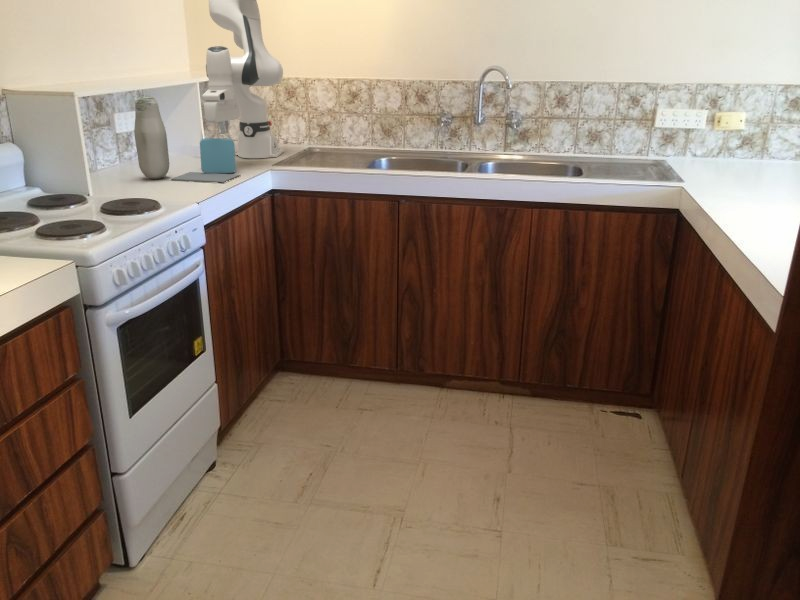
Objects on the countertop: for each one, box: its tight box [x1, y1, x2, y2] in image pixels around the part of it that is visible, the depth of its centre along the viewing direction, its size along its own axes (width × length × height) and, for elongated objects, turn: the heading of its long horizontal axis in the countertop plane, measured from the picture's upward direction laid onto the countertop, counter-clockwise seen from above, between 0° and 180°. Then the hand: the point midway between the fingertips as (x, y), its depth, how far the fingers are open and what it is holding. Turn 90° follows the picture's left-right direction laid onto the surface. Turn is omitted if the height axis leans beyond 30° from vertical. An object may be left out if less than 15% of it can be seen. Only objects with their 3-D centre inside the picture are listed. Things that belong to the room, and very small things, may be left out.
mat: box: [170, 171, 241, 184], centre depth 238 cm, size 13×20×1 cm, turn 77°
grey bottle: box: [133, 95, 170, 180], centre depth 232 cm, size 10×10×28 cm
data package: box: [199, 137, 237, 174], centre depth 244 cm, size 12×4×12 cm, turn 106°
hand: (224, 133), depth 248 cm, fingers closed
